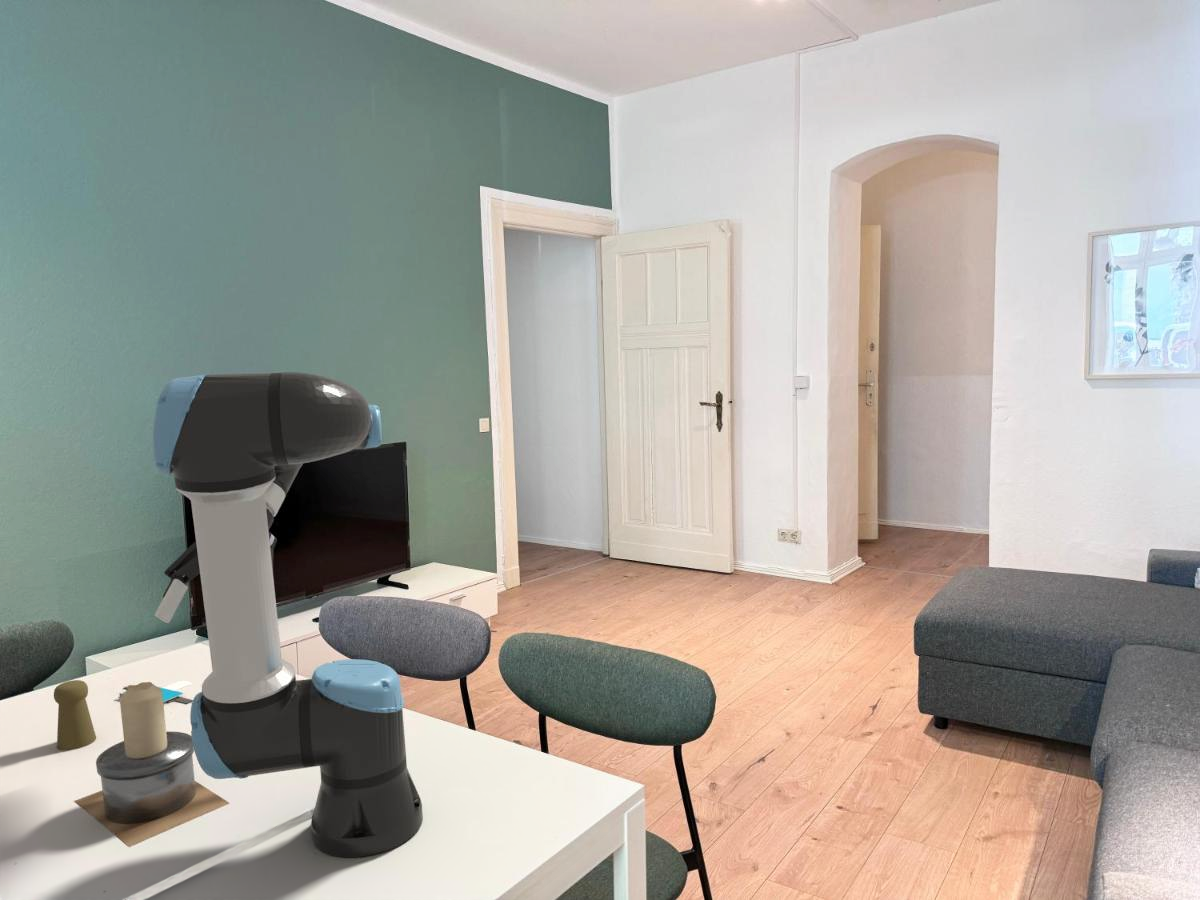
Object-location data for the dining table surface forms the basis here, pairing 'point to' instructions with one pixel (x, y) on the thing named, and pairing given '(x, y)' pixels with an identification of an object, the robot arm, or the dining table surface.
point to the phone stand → (172, 692)
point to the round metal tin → (147, 781)
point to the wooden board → (143, 831)
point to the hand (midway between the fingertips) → (194, 622)
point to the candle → (143, 721)
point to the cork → (73, 716)
